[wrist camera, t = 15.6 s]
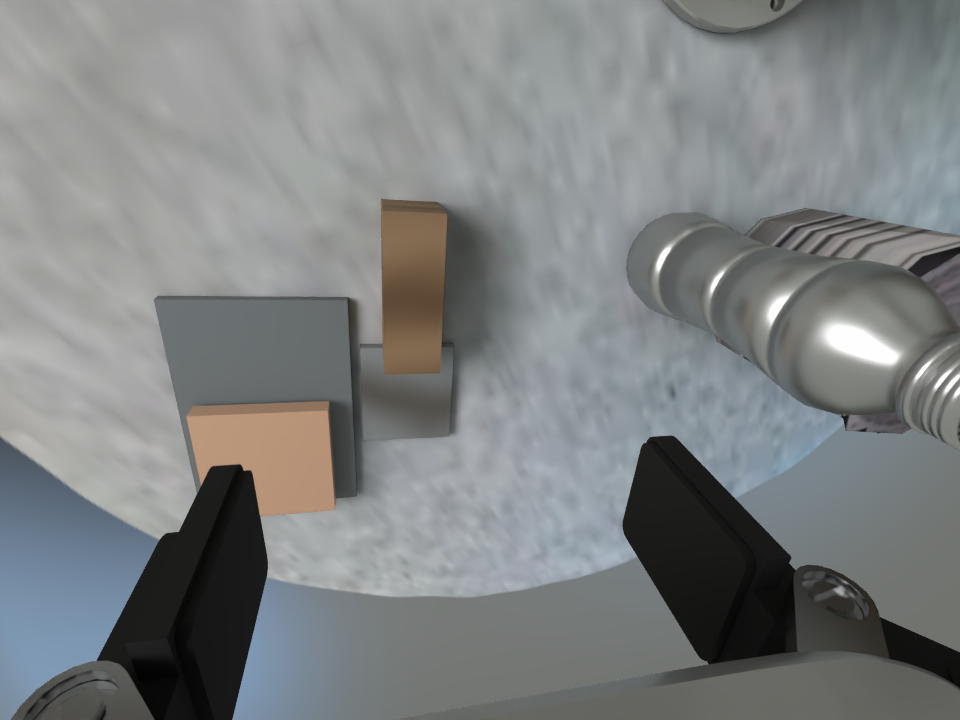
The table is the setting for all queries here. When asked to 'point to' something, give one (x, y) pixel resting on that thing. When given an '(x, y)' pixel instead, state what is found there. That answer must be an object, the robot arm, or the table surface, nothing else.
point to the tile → (271, 451)
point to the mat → (263, 360)
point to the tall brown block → (409, 329)
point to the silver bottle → (810, 320)
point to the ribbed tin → (928, 254)
